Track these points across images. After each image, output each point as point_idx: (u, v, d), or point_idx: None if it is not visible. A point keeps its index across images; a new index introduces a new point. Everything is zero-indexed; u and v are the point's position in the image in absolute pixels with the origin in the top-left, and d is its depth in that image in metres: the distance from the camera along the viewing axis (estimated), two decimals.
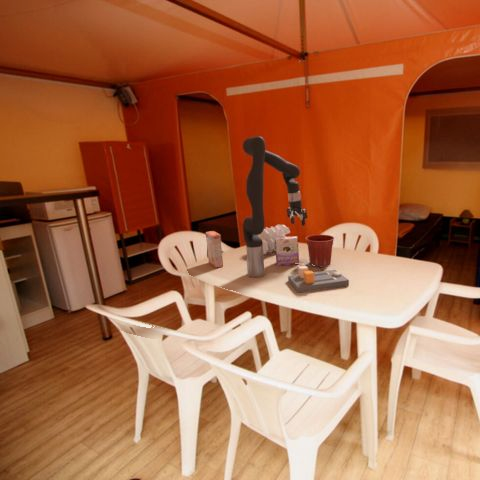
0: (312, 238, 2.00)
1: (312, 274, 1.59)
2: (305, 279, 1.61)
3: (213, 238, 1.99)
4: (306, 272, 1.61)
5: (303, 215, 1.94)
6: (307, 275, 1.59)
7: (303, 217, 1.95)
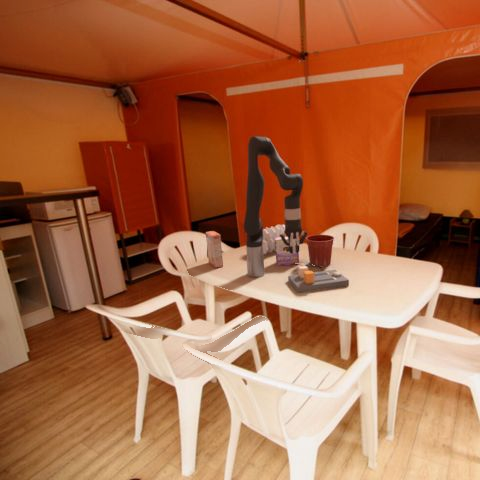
0: (312, 238, 2.00)
1: (312, 274, 1.59)
2: (305, 279, 1.61)
3: (213, 238, 1.99)
4: (306, 272, 1.61)
5: None
6: (307, 275, 1.59)
7: None
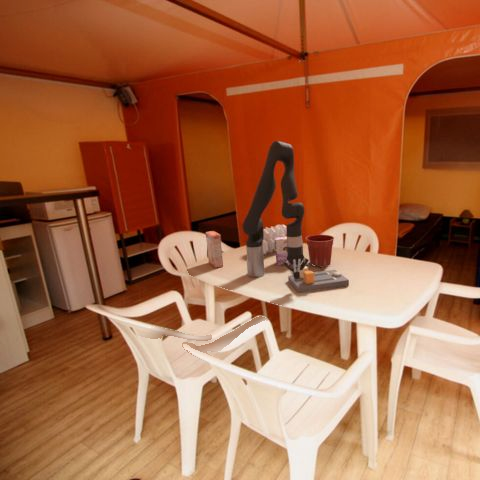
0: (312, 238, 2.00)
1: (312, 274, 1.59)
2: (305, 279, 1.61)
3: (213, 238, 1.99)
4: (306, 272, 1.61)
5: None
6: (307, 275, 1.59)
7: None
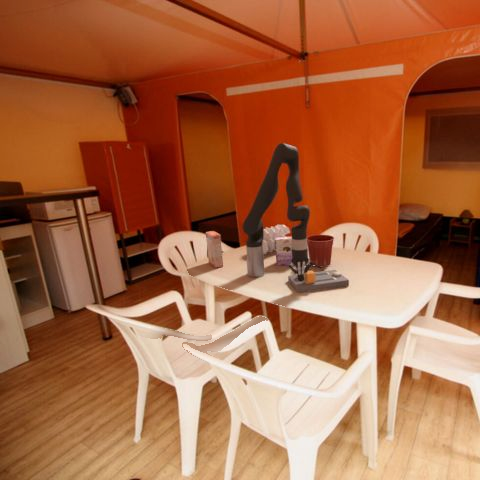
0: (312, 238, 2.00)
1: (313, 274, 1.59)
2: (306, 279, 1.61)
3: (213, 238, 1.99)
4: (307, 272, 1.61)
5: None
6: (308, 275, 1.59)
7: None
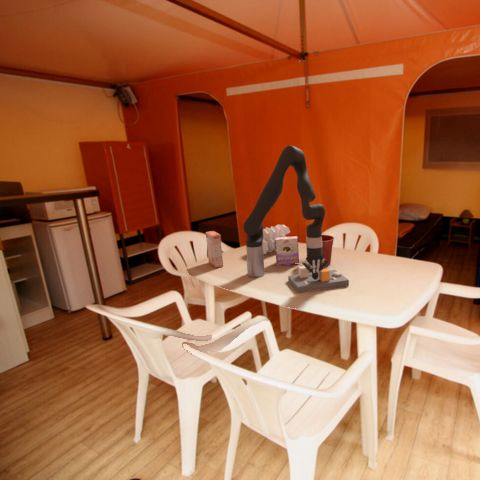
0: None
1: (327, 272, 1.60)
2: (320, 277, 1.62)
3: (213, 238, 1.99)
4: None
5: None
6: (323, 273, 1.60)
7: (308, 268, 1.62)
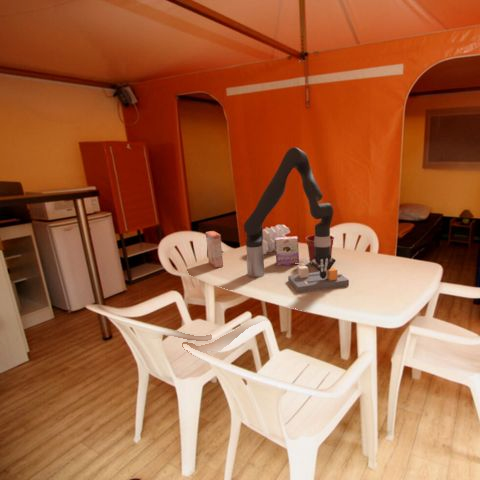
0: (312, 238, 2.00)
1: (335, 271, 1.61)
2: (328, 276, 1.62)
3: (213, 238, 1.99)
4: None
5: None
6: (330, 272, 1.61)
7: None
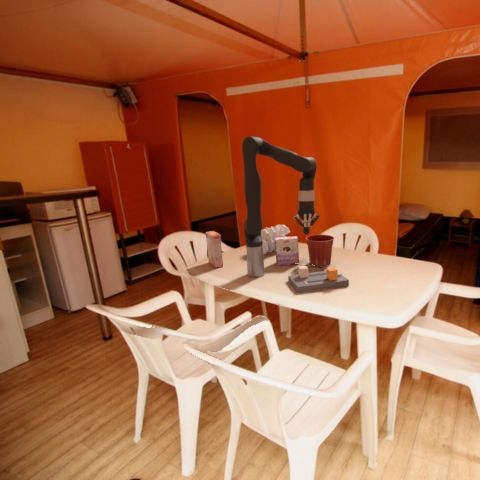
0: (312, 238, 2.00)
1: (335, 271, 1.61)
2: (328, 276, 1.62)
3: (213, 238, 1.99)
4: (329, 269, 1.63)
5: None
6: (330, 272, 1.61)
7: None
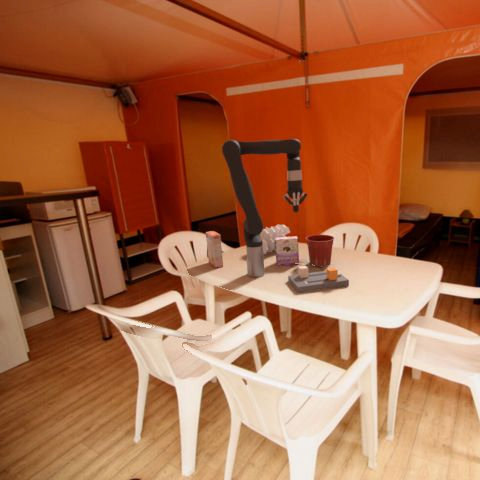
0: (312, 238, 2.00)
1: (335, 271, 1.61)
2: (328, 276, 1.62)
3: (213, 238, 1.99)
4: (329, 269, 1.63)
5: None
6: (330, 272, 1.61)
7: None
